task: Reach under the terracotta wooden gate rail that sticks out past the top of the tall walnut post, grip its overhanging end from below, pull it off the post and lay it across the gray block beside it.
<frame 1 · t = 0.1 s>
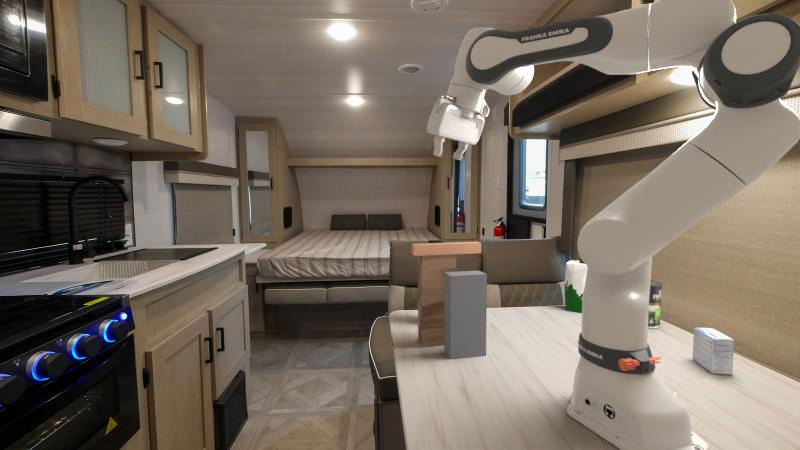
hand: (447, 157, 91), 52 cm above the table, tool tilted 20°, fingers open, 8 cm apart
gray block: (464, 353, 98), on the table
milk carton: (577, 310, 136), on the table
walnut post: (436, 342, 106), on the table
medicine box: (711, 368, 89), on the table
coffee can: (641, 324, 121), on the table
thermos bottle: (435, 322, 124), on the table
gate rail: (446, 253, 105), point 26 cm above the table, touching walnut post
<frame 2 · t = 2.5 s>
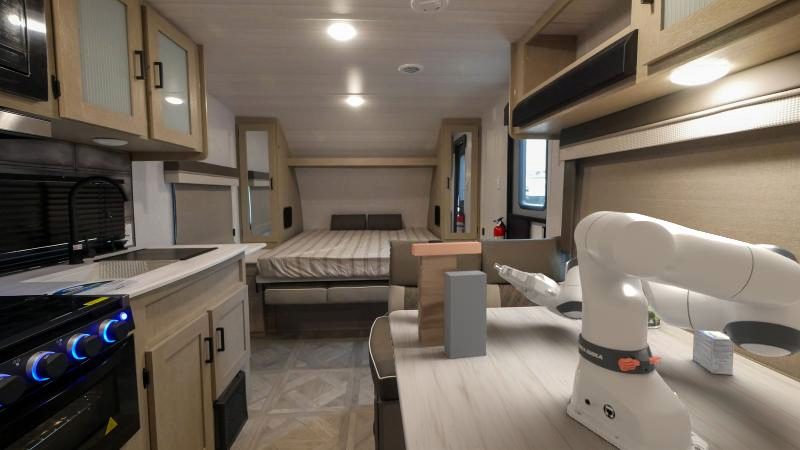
hand: (502, 267, 109), 21 cm above the table, tool pointing upward, fingers open, 8 cm apart
nothing on the table moved.
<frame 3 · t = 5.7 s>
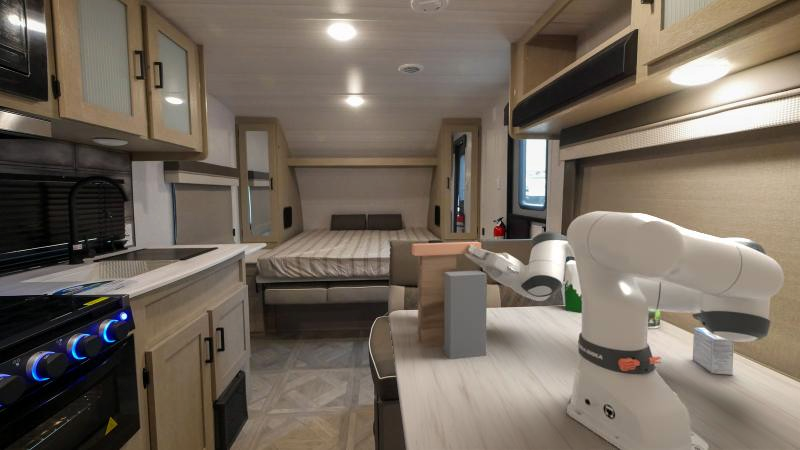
hand: (465, 246, 106), 28 cm above the table, tool pointing upward, fingers closed on gate rail, 3 cm apart
gate rail: (446, 253, 105), point 26 cm above the table, touching gripper, walnut post
everything else where it was.
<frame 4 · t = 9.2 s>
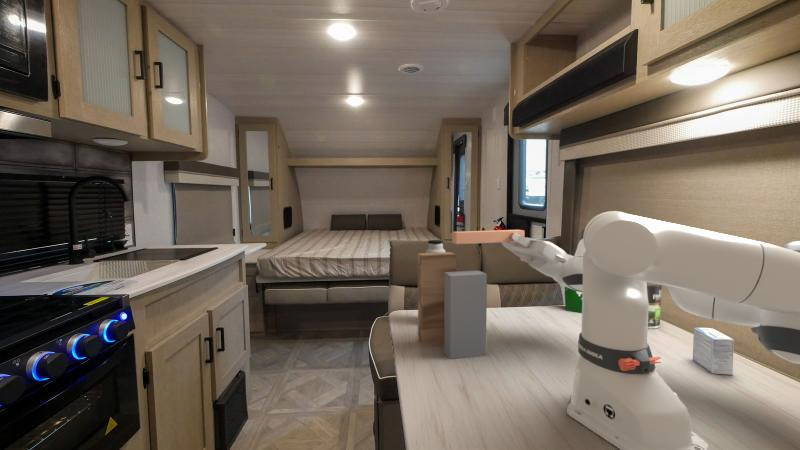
hand: (507, 234, 100), 32 cm above the table, tool pointing upward, fingers closed on gate rail, 3 cm apart
gate rail: (488, 242, 99), point 30 cm above the table, touching gripper
everything else where it was.
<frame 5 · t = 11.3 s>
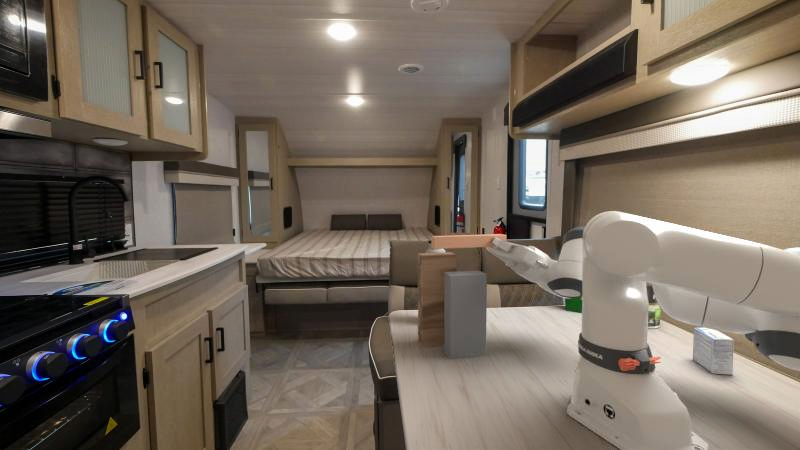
hand: (489, 238, 98), 31 cm above the table, tool pointing upward, fingers closed on gate rail, 3 cm apart
gate rail: (469, 246, 97), point 29 cm above the table, touching gripper
everything else where it was.
when the fingers open (25 cm above the table, at t = 12.8 s): gate rail stays where it is, resting on gray block.
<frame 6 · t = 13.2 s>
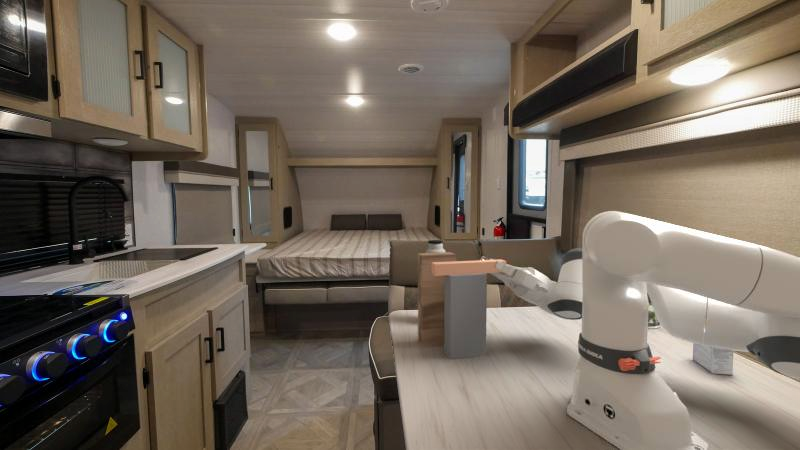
hand: (488, 261, 98), 25 cm above the table, tool pointing upward, fingers open, 7 cm apart
gate rail: (469, 272, 97), point 22 cm above the table, touching gray block
everything else where it was.
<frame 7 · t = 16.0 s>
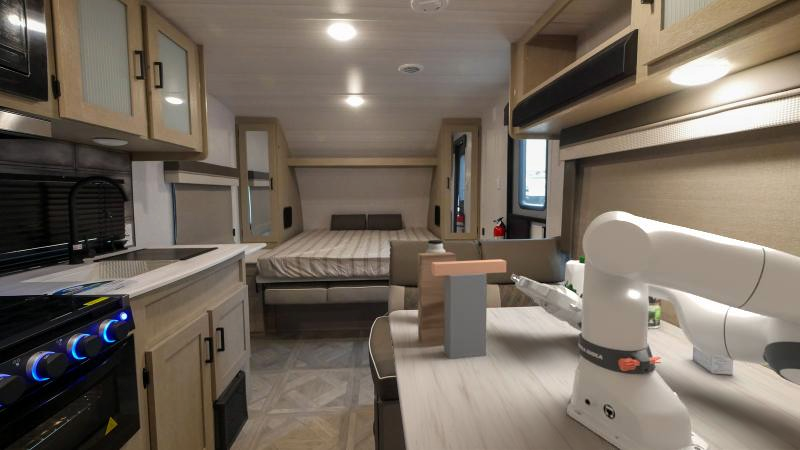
hand: (521, 280, 100), 19 cm above the table, tool pointing upward, fingers open, 8 cm apart
nothing on the table moved.
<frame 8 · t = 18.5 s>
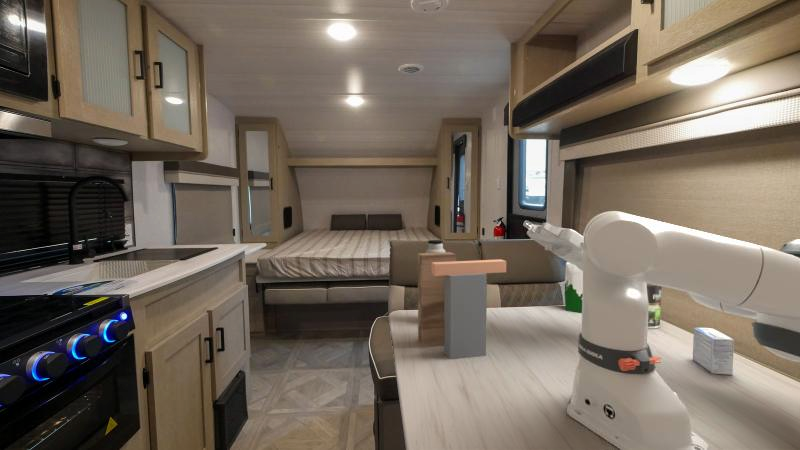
hand: (534, 223, 105), 34 cm above the table, tool pointing upward, fingers open, 8 cm apart
nothing on the table moved.
at the end: gate rail inside the target area on the gray block (0.1 cm from its centre), point 22.0 cm above the gray block's base; gate rail touching gray block; the gripper is holding nothing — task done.
